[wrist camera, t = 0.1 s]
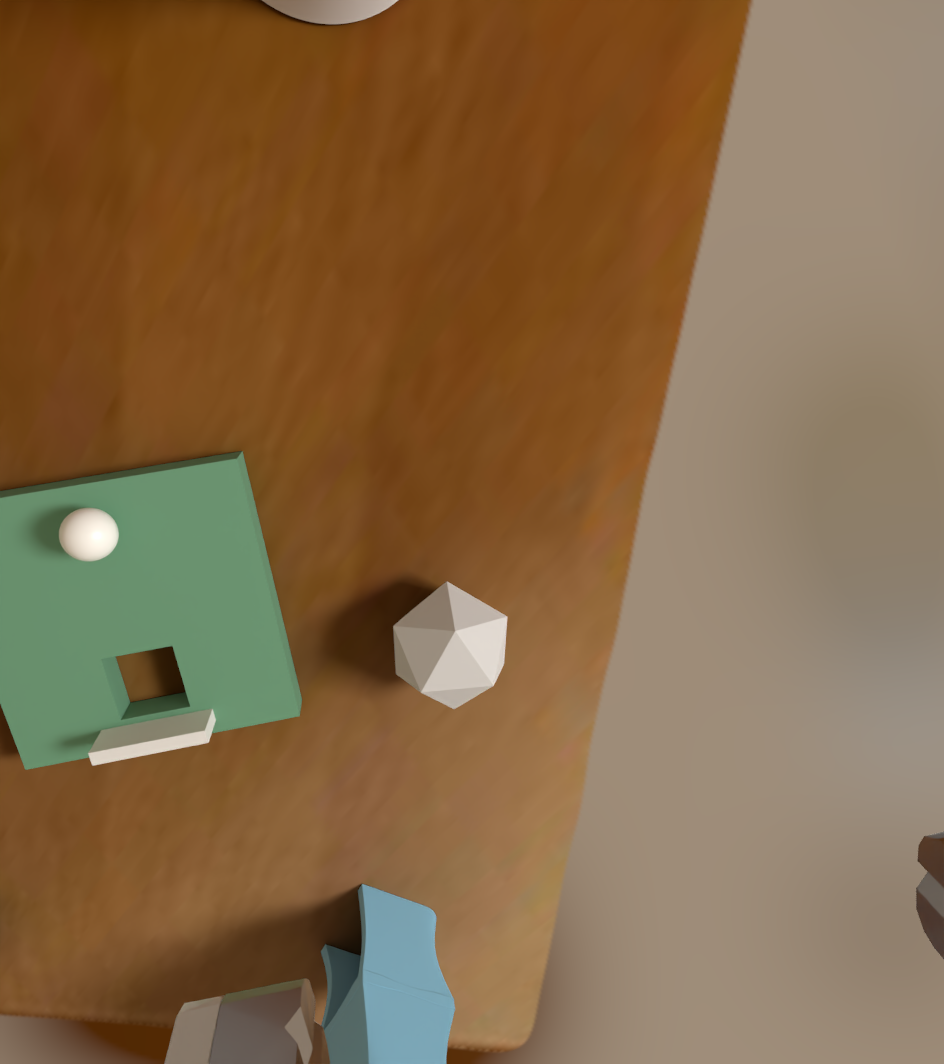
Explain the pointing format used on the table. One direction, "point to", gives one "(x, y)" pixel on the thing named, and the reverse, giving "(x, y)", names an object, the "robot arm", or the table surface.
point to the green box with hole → (139, 614)
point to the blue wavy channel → (388, 988)
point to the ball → (88, 534)
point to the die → (450, 646)
